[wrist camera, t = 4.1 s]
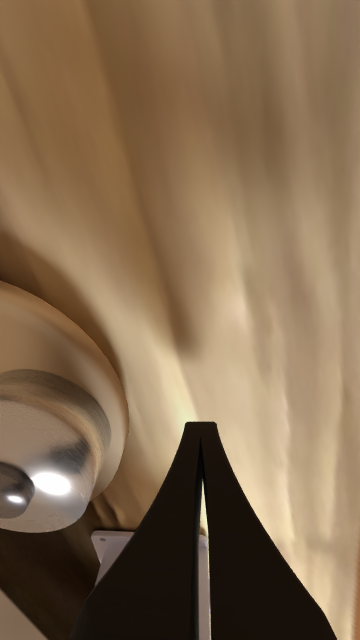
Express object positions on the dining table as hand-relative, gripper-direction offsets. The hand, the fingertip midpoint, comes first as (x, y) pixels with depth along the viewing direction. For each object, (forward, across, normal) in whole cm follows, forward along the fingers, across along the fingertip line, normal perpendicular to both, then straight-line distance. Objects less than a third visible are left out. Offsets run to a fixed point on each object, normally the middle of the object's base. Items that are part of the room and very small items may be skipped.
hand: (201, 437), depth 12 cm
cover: (+1, +8, 0) cm, 8 cm away
